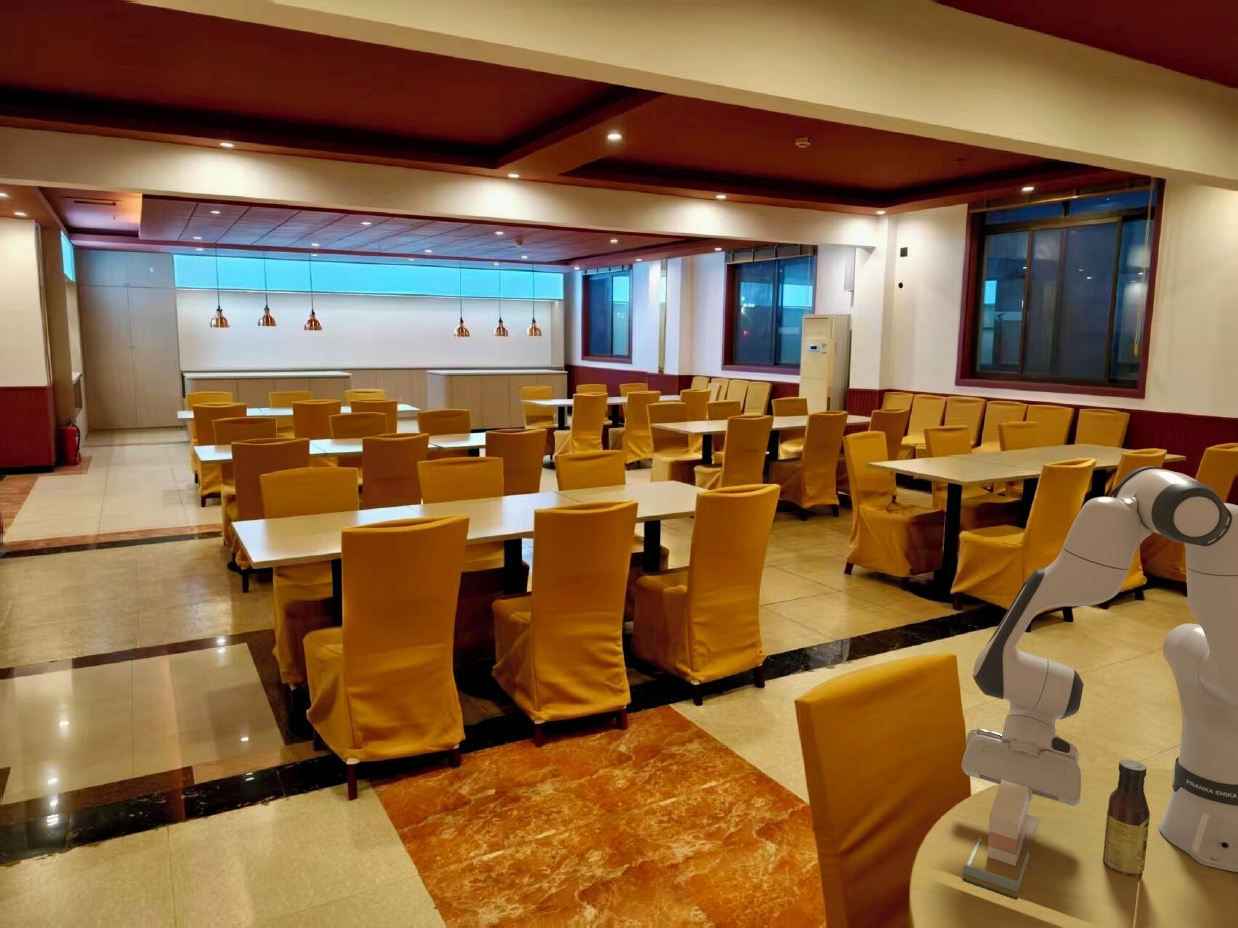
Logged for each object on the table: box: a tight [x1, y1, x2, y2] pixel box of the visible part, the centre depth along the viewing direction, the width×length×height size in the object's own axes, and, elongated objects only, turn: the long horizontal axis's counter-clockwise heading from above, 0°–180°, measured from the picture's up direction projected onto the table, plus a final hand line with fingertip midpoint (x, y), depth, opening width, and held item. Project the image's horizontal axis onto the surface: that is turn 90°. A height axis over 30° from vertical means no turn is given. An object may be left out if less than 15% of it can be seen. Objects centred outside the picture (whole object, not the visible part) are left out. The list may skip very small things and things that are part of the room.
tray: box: [962, 837, 1031, 901], centre depth 147 cm, size 8×12×3 cm
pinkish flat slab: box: [985, 813, 1041, 854], centre depth 158 cm, size 7×14×2 cm, turn 146°
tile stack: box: [986, 780, 1029, 867], centre depth 151 cm, size 4×10×10 cm, turn 146°
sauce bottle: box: [1102, 759, 1151, 882], centre depth 146 cm, size 7×6×20 cm
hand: (1013, 811), depth 155 cm, fingers closed, pressing on tile stack
